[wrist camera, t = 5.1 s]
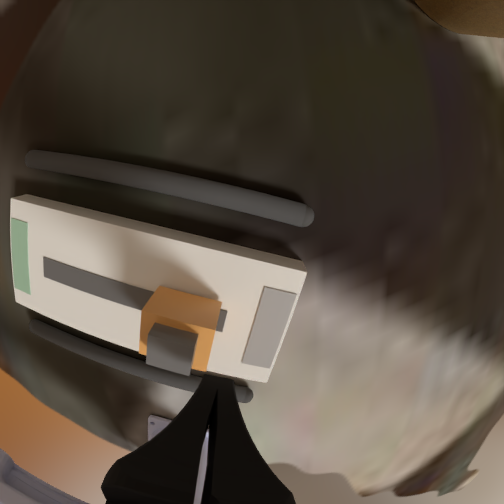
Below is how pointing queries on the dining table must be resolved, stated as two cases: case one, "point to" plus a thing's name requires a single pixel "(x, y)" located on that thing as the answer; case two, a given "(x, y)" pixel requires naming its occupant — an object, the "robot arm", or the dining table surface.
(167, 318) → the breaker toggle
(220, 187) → the dressed cords
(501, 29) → the plant pot
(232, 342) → the white slider switch panel
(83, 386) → the dining table surface
